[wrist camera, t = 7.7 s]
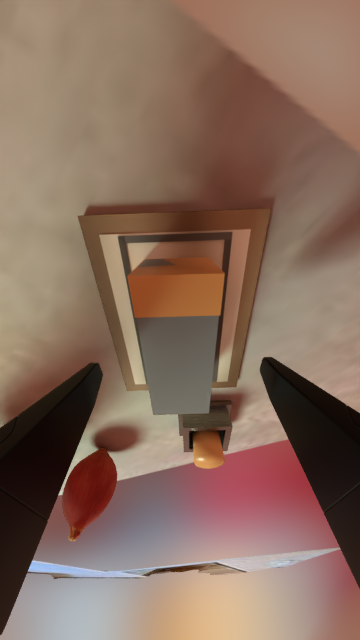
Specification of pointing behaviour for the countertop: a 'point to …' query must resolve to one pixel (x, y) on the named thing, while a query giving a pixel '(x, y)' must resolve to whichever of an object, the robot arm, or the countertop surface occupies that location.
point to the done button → (207, 449)
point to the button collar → (207, 424)
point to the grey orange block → (178, 329)
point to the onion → (88, 491)
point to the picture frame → (177, 242)
